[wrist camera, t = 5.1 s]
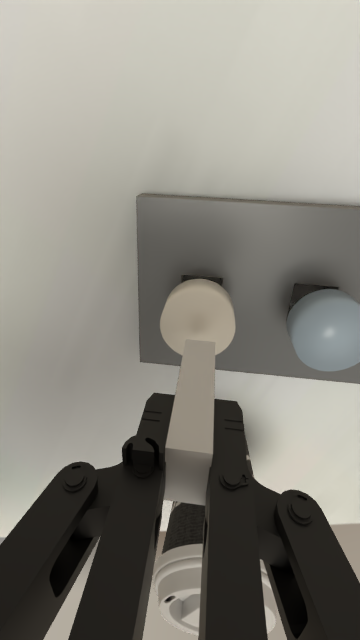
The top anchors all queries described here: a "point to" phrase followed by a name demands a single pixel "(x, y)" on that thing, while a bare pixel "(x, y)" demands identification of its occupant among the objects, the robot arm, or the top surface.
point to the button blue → (326, 330)
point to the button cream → (198, 315)
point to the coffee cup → (191, 569)
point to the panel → (245, 271)
